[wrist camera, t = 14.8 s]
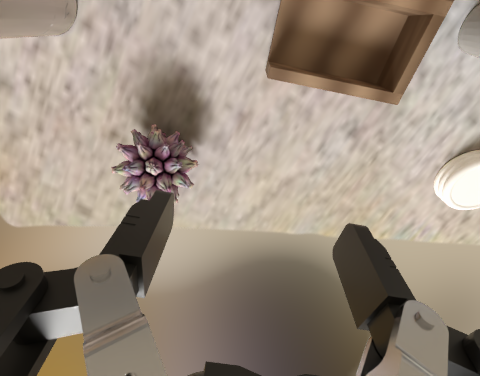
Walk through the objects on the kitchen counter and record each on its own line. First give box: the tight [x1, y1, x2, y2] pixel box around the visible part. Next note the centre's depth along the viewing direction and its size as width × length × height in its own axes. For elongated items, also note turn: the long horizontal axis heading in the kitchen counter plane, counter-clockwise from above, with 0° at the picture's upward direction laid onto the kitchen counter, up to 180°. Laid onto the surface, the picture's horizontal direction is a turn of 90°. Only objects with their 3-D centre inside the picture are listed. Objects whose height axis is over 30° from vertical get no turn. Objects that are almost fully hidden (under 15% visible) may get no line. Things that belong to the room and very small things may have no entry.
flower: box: [111, 124, 198, 202], centre depth 35 cm, size 12×12×12 cm
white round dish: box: [434, 150, 480, 210], centre depth 40 cm, size 10×10×4 cm
